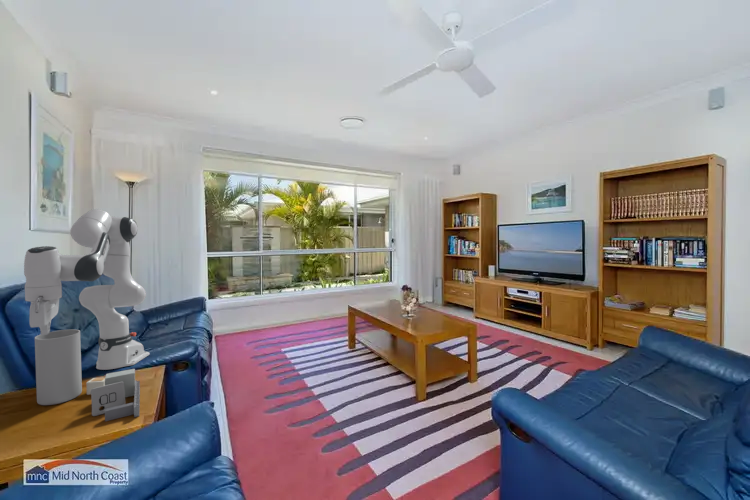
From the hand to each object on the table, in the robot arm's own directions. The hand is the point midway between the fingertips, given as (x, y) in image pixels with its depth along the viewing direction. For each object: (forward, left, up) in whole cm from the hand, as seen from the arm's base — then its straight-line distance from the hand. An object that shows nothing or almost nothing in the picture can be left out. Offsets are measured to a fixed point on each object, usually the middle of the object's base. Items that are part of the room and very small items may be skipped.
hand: (45, 333), depth 112 cm
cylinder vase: (-12, -9, -29) cm, 33 cm away
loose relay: (-18, +1, -29) cm, 34 cm away
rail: (-12, +23, -29) cm, 39 cm away
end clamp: (-2, +25, -29) cm, 38 cm away
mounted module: (-16, +13, -29) cm, 35 cm away
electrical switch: (-6, +16, -29) cm, 34 cm away
